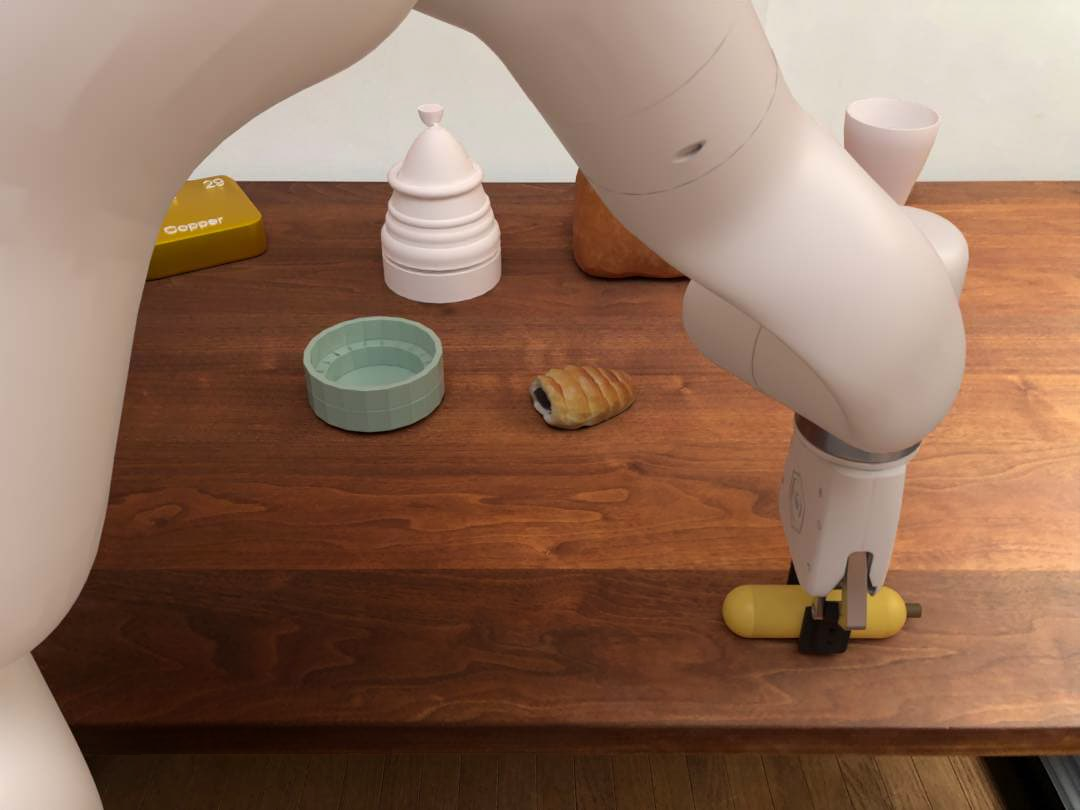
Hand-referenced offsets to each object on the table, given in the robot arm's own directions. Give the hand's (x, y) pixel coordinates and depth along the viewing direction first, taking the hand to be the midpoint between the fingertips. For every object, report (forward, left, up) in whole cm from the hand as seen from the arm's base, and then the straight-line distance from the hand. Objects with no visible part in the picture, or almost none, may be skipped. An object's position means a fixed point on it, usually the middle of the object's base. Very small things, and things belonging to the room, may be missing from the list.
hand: (814, 622), depth 73 cm
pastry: (+17, +26, -1) cm, 31 cm away
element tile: (+26, +80, -1) cm, 84 cm away
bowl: (+10, +43, -1) cm, 44 cm away
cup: (+68, +11, -1) cm, 69 cm away
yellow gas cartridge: (0, 0, -1) cm, 1 cm away
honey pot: (+33, +50, -1) cm, 60 cm away
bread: (+49, +30, -1) cm, 57 cm away
